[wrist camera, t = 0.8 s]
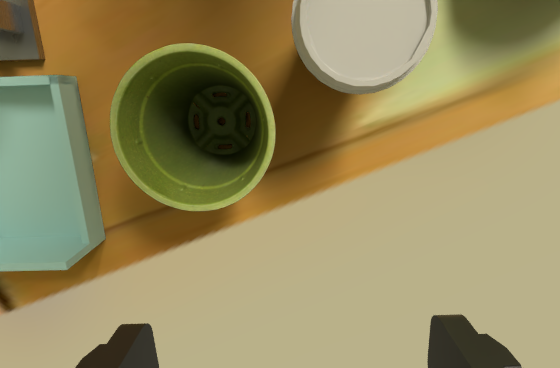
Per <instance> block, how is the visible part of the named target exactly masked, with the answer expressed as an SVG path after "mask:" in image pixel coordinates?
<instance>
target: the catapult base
mask: <svg viewBox="0 0 560 368" xmlns="http://www.w3.org/2000/svg"><path fill="white" fill-rule="evenodd" d="M20 60H45V56H44V52H43V47H42V42H41V37H40V32H39V27H38V22H37V17H36V12H35V7H34V2H33V0H0V61H20Z"/></svg>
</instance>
